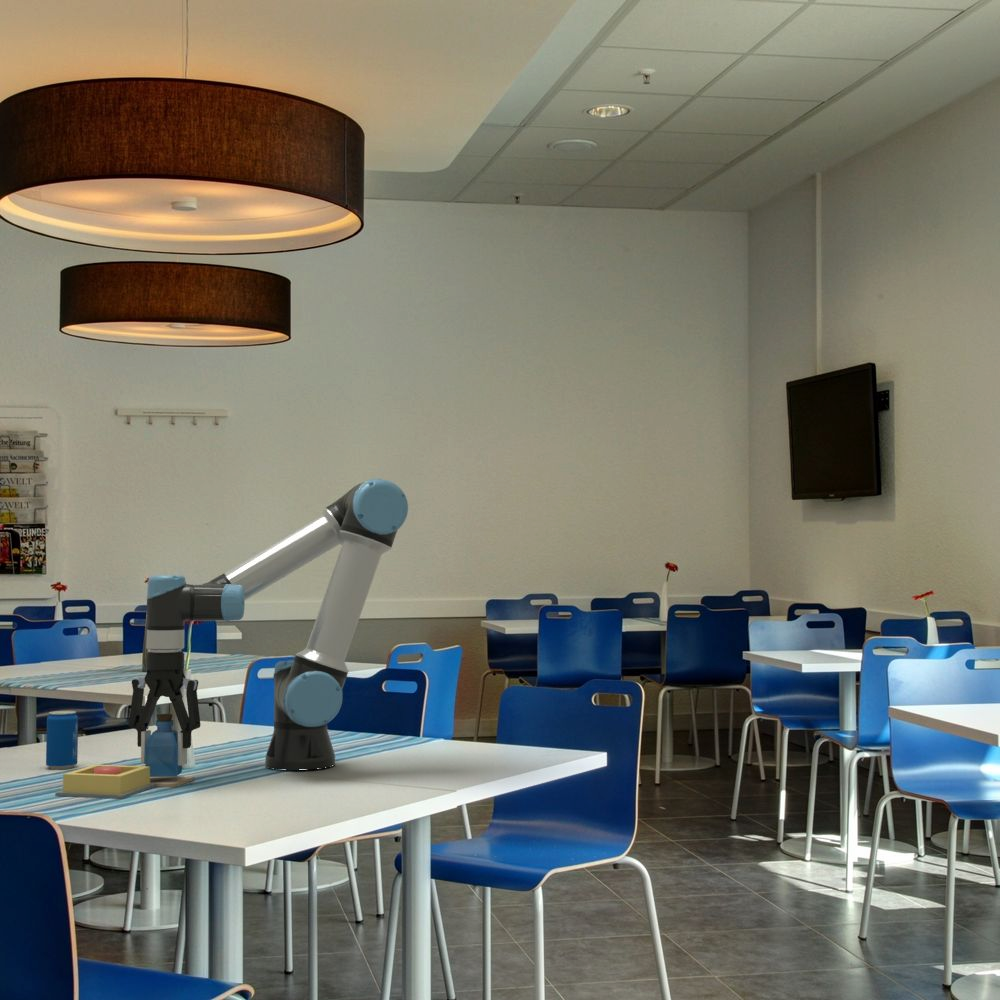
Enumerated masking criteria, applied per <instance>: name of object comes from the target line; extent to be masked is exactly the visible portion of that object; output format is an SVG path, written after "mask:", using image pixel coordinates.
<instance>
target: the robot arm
mask: <svg viewBox="0 0 1000 1000" xmlns="http://www.w3.org/2000/svg"><path fill="white" fill-rule="evenodd" d="M408 513H409V502H408V500H407V496H406V494H405V493H404V491H403V490H402V489H401V487H399V485H397V484H395V483H394V482H392V481H390V480H386V479H382V478H373V479H369V480H367V481H364V482H361V483H359V484H357V485H355V486H353V487H351V489H350V490H348V491H346V492H345V494H344V495H342V496H341V497H339V498H338V499H337V500H335V501H334V502H332V503H331V504H329V505H328V506H326V507H324V508H323V510H322V513H321V515H320V516H318V517H316V518H314V519H313V520H311V521H309V522H308V523H306V524H305V525H303V526H302V527H299V528H297V529H295V530H294V531H292V532H291V533H289V534H288V535H285V536H284V537H282V538H281V539H279V540H277V541H275V542H274V543H272V544H271V545H269V546H267V547H265V548H263V549H262V550H260V551H258V552H256V553H255V554H254V555H252V556H250V557H249V558H246V559H244V560H243V561H242V562H240V563H239V564H237V565H235V566H233V567H232V568H230V569H228V570H226V571H225V572H223V573H222V574H220V575H218V576H216V577H214V578H213V579H211V580H210V581H207V582H204V583H201V584H189V583H187V581H186V577H185V575H183V574H155V575H154V574H153V575H152V576H150V577H149V578H148V580H147V590H146V591H147V593H146V594H147V595H146V642H145V643H146V645H145V646H146V650H149V651H148V652H147V653H146V655H145V657H146V659H145V662H146V664H145V668H146V673H145V676H144V677H142V678H141V677H140V678H134V679H132V680H131V688H132V695H131V702H130V703H131V704H130V710H129V718H128V725H127V726H128V727H129V728H130V729H134V730H136V731H137V742H136V744H137V747H140V765H145V756H146V744H147V742H148V740H149V738H150V736H151V735H152V729H151V730H150V729H149V727H150V726H149V725H150V722H151V720H152V717H153V714H154V712H155V709H156V706H157V703H158V701H159V700H160V699H161V697H165V698H169V701H170V702H171V704H172V707H173V710H174V713H175V715H176V718H177V720H178V724H179V727H180V732H177V733H178V765H179V766H181V765H182V766H185V765H186V764H188V749H189V748H191V746H192V732H193V731H194V730H197V729H199V728H200V727H201V718H200V710H199V709H200V708H199V707H200V706H199V701H198V687H199V680H198V679H190V678H187V677H186V675H185V673H184V671H185V652H184V651H182V650H183V649H184V648H185V627H186V626H185V623H186V622H196V621H197V622H199V621H201V622H202V621H203V622H230V621H240V620H243V617H244V614H245V606H246V605H245V602H246V600H249V599H250V598H251V597H253V596H255V595H257V594H259V593H260V592H262V591H264V589H267V588H268V587H270V586H271V585H273V584H274V583H276V582H279V581H280V580H282V579H283V578H285V577H288V576H289V575H290V574H292V573H293V572H295V571H297V570H299V569H300V568H303V566H305V565H307V564H309V563H310V562H312V561H314V560H315V559H318V558H320V557H321V556H322V555H324V554H326V553H327V552H330V551H331V550H332V549H334V548H335V547H337V546H339V545H341V548H340V551H339V553H338V556H337V559H336V562H335V565H334V567H333V571H332V573H331V575H330V579H329V581H328V584H327V587H326V590H325V593H324V596H323V598H322V601H321V605H320V607H319V611H318V613H317V616H316V618H315V621H314V624H313V627H312V630H311V633H310V636H309V638H308V641H307V644H306V647H305V648H304V649H303V650H300V651H299V652H297V653H296V654H295V657H294V659H292V660H291V659H290V660H283V661H281V660H280V661H278V662H277V663H276V664H275V666H274V671H273V679H274V681H273V682H274V683H273V684H274V687H273V689H274V690H273V691H274V693H273V696H274V697H273V698H274V699H273V702H274V703H273V733H272V734H271V735H272V736H271V739H270V742H269V745H268V749H267V750H266V755H265V768H267V767H269V768H274V769H286V770H299V769H317V768H325V767H330V766H332V765H334V764H335V765H336V755H335V750H334V748H333V744H332V740H331V737H330V735H329V731H328V723H330V722H331V721H332V720H333V719H334V718H335V717H336V716H337V715H338V714H339V712H340V709H341V708H342V704H343V696H344V695H343V693H344V692H343V688H344V685H345V683H346V680H347V676H348V675H349V669H348V667H347V665H346V658H347V656H348V652H349V650H350V647H351V643H352V640H353V638H354V635H355V633H356V629H357V626H358V623H359V620H360V617H361V615H362V611H363V608H364V607H365V603H366V600H367V597H368V594H369V592H370V589H371V585H372V584H373V583H372V582H373V580H374V578H375V577H374V576H375V574H376V572H377V568H378V566H379V563H380V560H381V558H382V557H381V556H382V555H383V554H384V553H387V552H389V551H390V550H391V549H392V548H393V545H394V541H395V539H396V536H397V533H398V530H400V529H401V527H402V526H403V525H404V523H405V522H406V520H407V517H408ZM146 686H147V688H148V689H149V690H148V694H147V696H146V702H145V704H144V707H143V700H144V695H145V688H146ZM183 686H184V689H185V690H186V691H185V693H186V694H185V695H186V703H187V704H186V705H187V708H186V705H185V702H184V700H183V696H184V695H183V694H182V690H181V689H182V687H183ZM142 708H143V710H142ZM269 768H268V769H269ZM330 768H331V767H330ZM274 769H273V770H274ZM325 769H326V768H325Z"/></svg>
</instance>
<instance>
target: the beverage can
mask: <svg viewBox="0 0 1000 1000" xmlns="http://www.w3.org/2000/svg"><path fill="white" fill-rule="evenodd" d="M78 741H79V716H78V715H77V711H75V710H56V711H49V713H48V716H47V718H46V741H45V742H46V743H45V744H46V745H45V747H46V751H45V752H46V753H45V766H47V767H49V769H50V770H71V769H73V768H74V767H75V766H76V765H77V764H78V752H79V751H78V749H79V745H78V743H79V742H78Z"/></svg>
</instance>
